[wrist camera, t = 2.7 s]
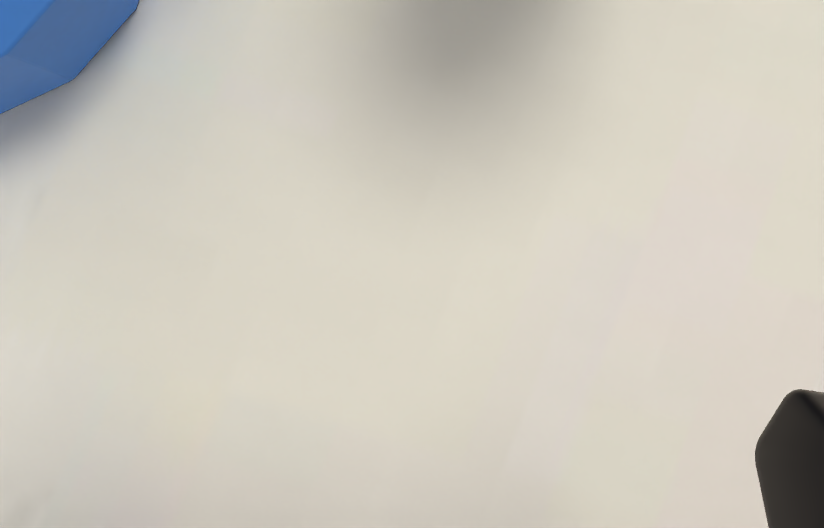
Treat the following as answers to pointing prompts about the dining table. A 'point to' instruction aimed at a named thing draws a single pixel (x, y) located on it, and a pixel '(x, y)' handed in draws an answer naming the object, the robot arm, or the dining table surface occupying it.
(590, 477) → the dining table surface
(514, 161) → the dining table surface
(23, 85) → the tape roll
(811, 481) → the robot arm
